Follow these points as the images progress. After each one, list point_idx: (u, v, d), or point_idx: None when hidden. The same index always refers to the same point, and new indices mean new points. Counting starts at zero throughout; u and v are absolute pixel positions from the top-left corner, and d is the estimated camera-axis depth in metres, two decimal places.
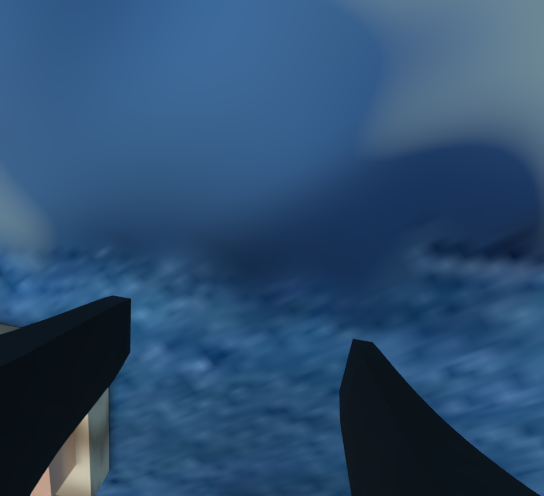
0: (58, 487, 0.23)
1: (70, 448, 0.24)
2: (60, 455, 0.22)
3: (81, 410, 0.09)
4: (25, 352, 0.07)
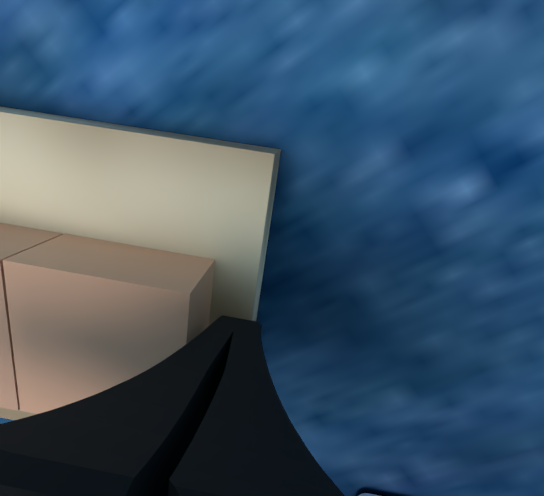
0: None
1: None
2: None
3: None
4: (196, 384, 0.07)
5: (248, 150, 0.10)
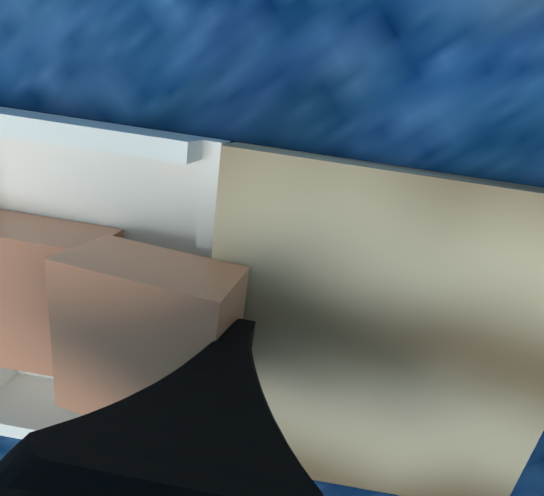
0: None
1: None
2: None
3: None
4: (219, 389, 0.07)
5: None
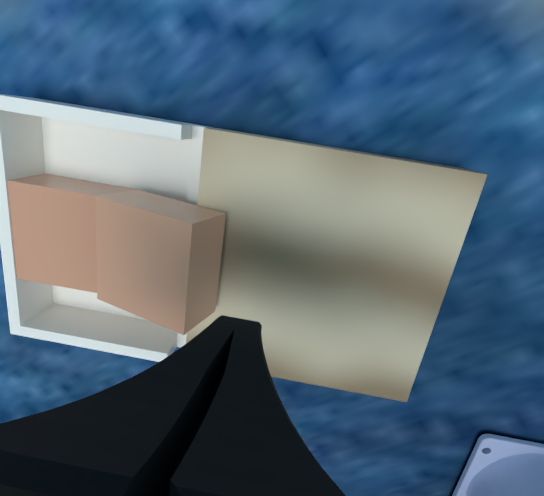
0: (193, 324, 0.16)
1: (213, 277, 0.16)
2: (202, 273, 0.15)
3: None
4: (195, 384, 0.07)
5: (467, 171, 0.15)
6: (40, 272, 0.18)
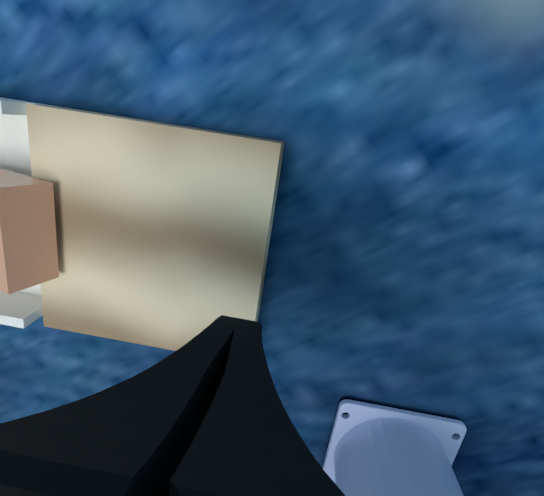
0: (22, 285, 0.17)
1: (47, 243, 0.17)
2: (26, 237, 0.16)
3: None
4: (195, 384, 0.07)
5: (264, 141, 0.16)
6: None
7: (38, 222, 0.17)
